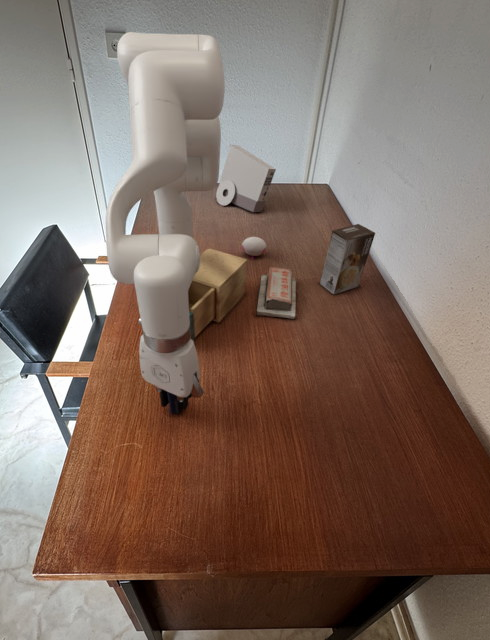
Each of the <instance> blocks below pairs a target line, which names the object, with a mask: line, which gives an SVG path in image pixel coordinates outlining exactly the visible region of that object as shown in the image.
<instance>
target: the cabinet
mask: <svg viewBox="0 0 490 640" xmlns="http://www.w3.org/2000/svg"><path fill="white" fill-rule="evenodd" d="M247 268H248V258H244V257H240V256H238V255H235V254H230V253H226V252H223V251H220V250H217V249H213V248H207V249H206V250H204V251H203V252H202V253H200V266H199V270H198V272H196V274H195V276H194V278H193V281H195V282H198V283H201V284H204V285H207V286H211V287H214V288H217V297H216V316H215V317H214V318H213V319H212V320H211V321H212V322H216V323H218V324H219V323H220V322H221V321H222V320H224V318H225V317H226V316H227V315H228V314H229V312H230V311H231V310H232V309H233V308H234V307H235V306H236V305H237V303H238V302H240V301H241V299H242V298H243V297H244V296H245V294H246V284H247V283H246V281H247V270H248V269H247Z"/></svg>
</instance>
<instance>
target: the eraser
mask: <svg viewBox="0 0 490 640" xmlns="http://www.w3.org/2000/svg"><path fill="white" fill-rule="evenodd" d="M167 394H168V400H169V403H168V407H169V412H170V414H171V415H175V414H177V412H176V406H175V400H176V399H177V395H174V394H172V393H170V392H168V391H167ZM177 415H178V414H177Z"/></svg>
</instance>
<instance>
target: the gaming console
mask: <svg viewBox="0 0 490 640" xmlns="http://www.w3.org/2000/svg"><path fill="white" fill-rule="evenodd" d="M223 165H224V166H223V168H222V173H221V176H220V181H219V184H218V185H217V188H216V192H215V197H216V201H217V203H218V204H219V205H220V206H223V207H224V206H228V205H229V204H233V205H235V206H238V207H240V208H242V209H245V210H247V211H249V212H251V213H259V212H263V209H264V206H265V203H266V198H267V195H268V193H269V190H270V187H271V184H272V181H273V179H274V176H275V173H276V170H277V168H275V167H274V166H272V165H270V164H269V163H268V162H265V161H264V160H263V159H260V158H259V157H257V156H256V155H255V154H253V153H251V152H250V151H248V150H246V149H245V148H244V147H242V146H241V145H237V144H229V148H228V151H227V155H226V158H225V162H224V164H223Z"/></svg>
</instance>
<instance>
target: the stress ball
mask: <svg viewBox="0 0 490 640" xmlns="http://www.w3.org/2000/svg"><path fill="white" fill-rule="evenodd" d="M241 248H242V251H243V252H244V253H245V254H246V255H248V256H252V257H251V258H250V259H251V260H255V258H254V257H258V256H260V255H263V254H264V253H265V252H266V250H267V243H266V241H265V240H264V239H262V238H261V237H257V236H249V237H247V238H244V240H243V242H242V243H241Z"/></svg>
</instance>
